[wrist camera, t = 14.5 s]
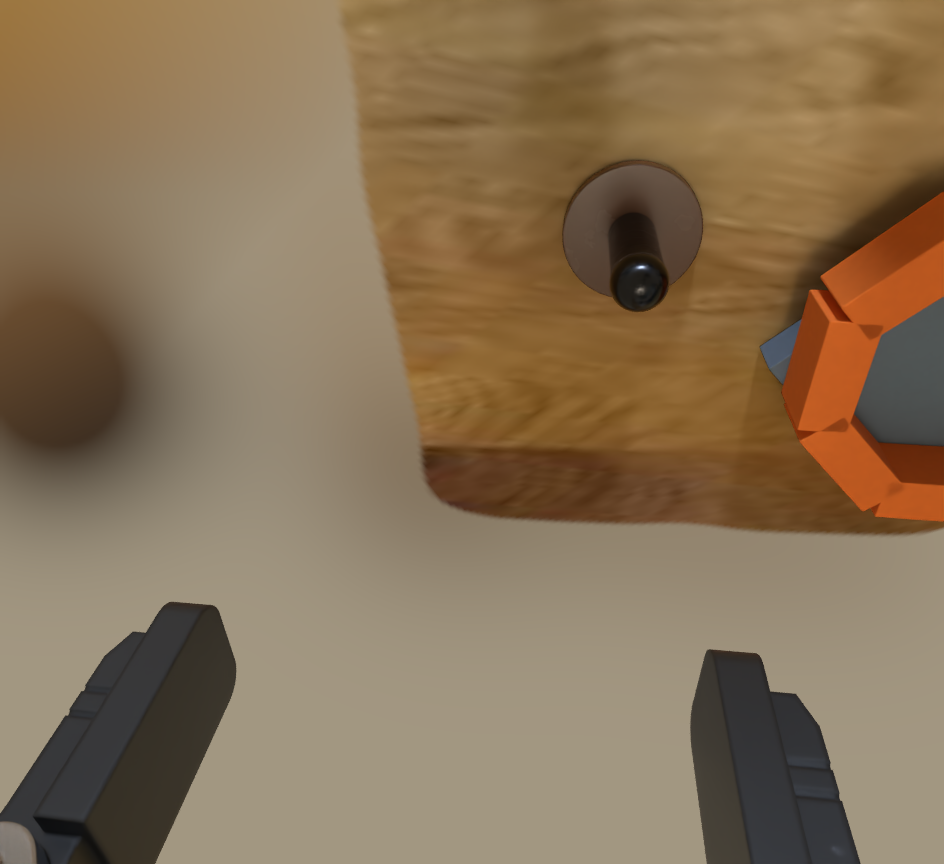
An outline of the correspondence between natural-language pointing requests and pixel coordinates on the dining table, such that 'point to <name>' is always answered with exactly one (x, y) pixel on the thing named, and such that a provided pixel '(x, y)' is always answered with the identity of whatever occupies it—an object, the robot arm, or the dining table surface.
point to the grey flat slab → (893, 379)
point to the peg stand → (632, 232)
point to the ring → (868, 367)
